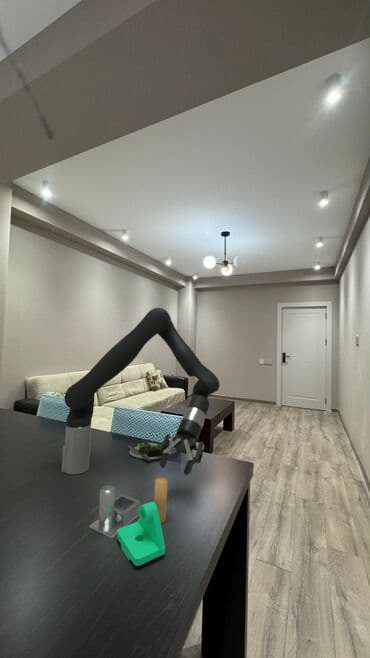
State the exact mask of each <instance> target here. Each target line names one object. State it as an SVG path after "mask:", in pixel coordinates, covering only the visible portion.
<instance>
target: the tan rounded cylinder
mask: <svg viewBox="0 0 370 658" xmlns="http://www.w3.org/2000/svg"><path fill="white" fill-rule="evenodd" d="M153 498H154V499H153V502H155V504H156V506H157V509H158V513H159V518H160V523H161V524H163V523H165V522H166V520H167V517H166V516H167V503H168V502H167V499H168V479H167V478H165V477H158V478H156V479H155V480H154V495H153Z"/></svg>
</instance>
